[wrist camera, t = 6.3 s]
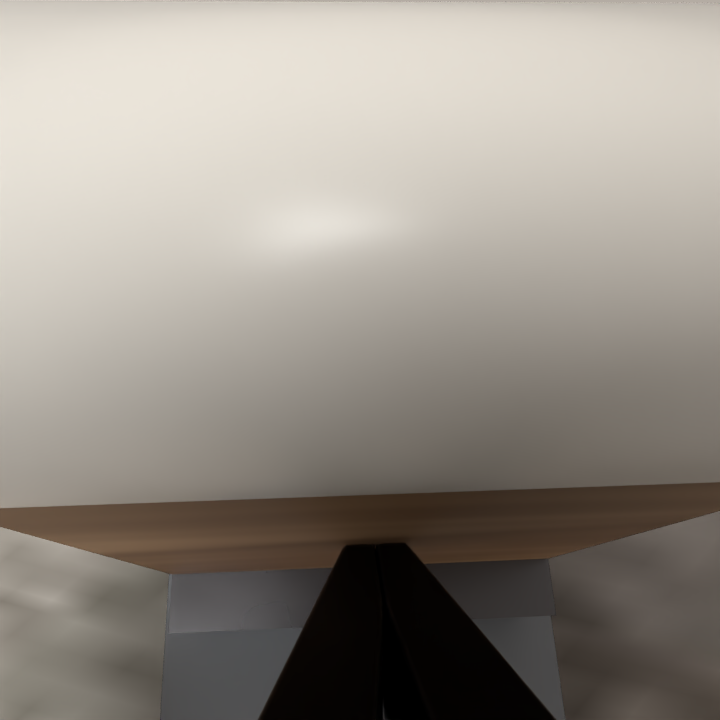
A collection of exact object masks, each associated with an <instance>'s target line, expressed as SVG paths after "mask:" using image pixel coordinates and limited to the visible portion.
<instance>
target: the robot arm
mask: <svg viewBox="0 0 720 720" xmlns="http://www.w3.org/2000/svg"><path fill="white" fill-rule="evenodd" d="M383 712H384V720H557V719H556V718H555V717H554V716H553V714H552V713H551V712H550V711H549V710H548V709H547V707H546V706H545V705H544V704H543V703H542V702H541V700H540V699H539V698H538V697H537V696H536V695H535V693H534V692H533V691H532V690H531V689H530V688H529V686H528V685H527V684H526V683H525V682H524V680H523V679H522V678H521V677H520V676H519V675H518V673H517V672H516V671H515V670H514V669H513V668H512V666H511V665H510V664H509V663H508V662H507V661H506V659H505V658H504V657H503V656H502V655H501V654H500V652H499V651H498V650H497V649H496V648H495V646H494V645H493V644H492V643H491V642H490V641H489V639H488V638H487V637H486V636H485V635H484V634H483V632H482V631H481V630H480V629H479V628H478V627H477V625H476V624H475V623H474V622H473V621H472V620H471V618H470V617H469V616H468V615H467V614H466V612H465V611H464V610H463V609H462V608H461V607H460V605H459V604H458V603H457V602H456V601H455V600H454V598H453V597H452V596H451V595H450V594H449V593H448V591H447V590H446V589H445V588H444V587H443V586H442V584H441V583H440V582H439V581H438V580H437V579H436V577H435V576H434V575H433V574H432V573H431V571H430V570H429V569H428V568H427V567H426V566H425V564H424V563H423V562H422V561H421V560H420V559H419V557H418V556H417V555H416V554H415V553H414V552H413V550H412V549H411V548H410V547H409V546H408V545H407V544H406V543H382V544H378V545H377V546H376V548H375V547H374V546H373V545H372V544H357V545H345V546H344V547H343V548H342V550H341V552H340V554H339V556H338V558H337V560H336V562H335V564H334V566H333V568H332V570H331V572H330V574H329V576H328V578H327V580H326V582H325V584H324V586H323V588H322V590H321V592H320V594H319V596H318V598H317V600H316V602H315V604H314V606H313V608H312V610H311V613H310V615H309V617H308V619H307V621H306V623H305V625H304V627H303V629H302V631H301V633H300V635H299V637H298V639H297V641H296V643H295V645H294V647H293V649H292V651H291V653H290V655H289V657H288V659H287V661H286V663H285V665H284V667H283V669H282V671H281V673H280V675H279V677H278V679H277V681H276V683H275V685H274V687H273V689H272V691H271V693H270V695H269V697H268V699H267V701H266V703H265V705H264V707H263V709H262V711H261V713H260V715H259V717H258V719H257V720H383Z"/></svg>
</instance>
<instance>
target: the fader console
mask: <svg viewBox="0 0 720 720" xmlns="http://www.w3.org/2000/svg"><path fill="white" fill-rule="evenodd" d="M171 582H172V574H169V583H168V600H167V616H166V632H165V648H164V664H163V680H162V696H161V713H160V720H257V719H258V717H259V715H260V713H261V711H262V709H263V707H264V705H265V703H266V701H267V699H268V697H269V695H270V693H271V691H272V689H273V687H274V685H275V683H276V681H277V679H278V677H279V675H280V673H281V671H282V669H283V667H284V665H285V663H286V661H287V659H288V657H289V655H290V653H291V651H292V649H293V647H294V645H295V643H296V641H297V639H298V637H299V635H300V633H301V631H302V629H303V627H299V628H278V629H257V630H235V631H214V632H193V633H172V634H168V632H169V615H170V599H171ZM471 620H472V621H473V622H474V623H475V624H476V625H477V627H478V628H479V629H480V630H481V631H482V632H483V634H484V635H485V636H486V637H487V638H488V639H489V641H490V642H491V643H492V644H493V645H494V646H495V648H496V649H497V650H498V651H499V652H500V654H501V655H502V656H503V657H504V658H505V659H506V661H507V662H508V663H509V664H510V665H511V666H512V668H513V669H514V670H515V671H516V672H517V673H518V675H519V676H520V677H521V678H522V679H523V680H524V682H525V683H526V684H527V685H528V686H529V688H530V689H531V690H532V691H533V692H534V693H535V695H536V696H537V697H538V698H539V699H540V700H541V702H542V703H543V704H544V705H545V706H546V707H547V709H548V710H549V711H550V712H551V713H552V714H553V716H554V717H555V718H556V719H557V720H565V713H564V706H563V698H562V691H561V684H560V677H559V670H558V663H557V656H556V649H555V642H554V634H553V627H552V620H551V616H534V617H512V618H491V619H471ZM383 720H384V712H383Z"/></svg>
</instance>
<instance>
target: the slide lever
mask: <svg viewBox="0 0 720 720" xmlns="http://www.w3.org/2000/svg"><path fill="white" fill-rule="evenodd" d="M717 511H720V3H582V2H577V3H576V2H573V3H572V2H569V3H567V2H355V1H354V2H352V1H351V2H349V1H346V2H345V1H344V2H343V1H342V2H341V1H329V2H328V1H132V0H128V1H125V0H124V1H123V0H0V527H3V528H7V529H10V530H14V531H17V532H21V533H25V534H28V535H32V536H35V537H39V538H43V539H46V540H50V541H53V542H57V543H61V544H64V545H68V546H71V547H75V548H79V549H82V550H86V551H89V552H93V553H97V554H100V555H104V556H107V557H111V558H115V559H118V560H122V561H125V562H129V563H133V564H136V565H140V566H143V567H147V568H151V569H154V570H158V571H161V572H165V573H169V574H172V582H171V599H170V615H169V632H168V634H172V633H193V632H214V631H235V630H257V629H278V628H299V627H304V625H305V623H306V621H307V619H308V617H309V615H310V613H311V610H312V608H313V606H314V604H315V602H316V600H317V598H318V596H319V594H320V592H321V590H322V588H323V586H324V584H325V582H326V580H327V578H328V576H329V574H330V572H331V570H332V568H333V566H334V564H335V562H336V560H337V558H338V556H339V554H340V552H341V550H342V548H343V547H344V546H345V545H357V544H372V545H373V546H374V547H375V548H376V546H377V545H378V544H382V543H406V544H407V545H408V546H409V547H410V548H411V549H412V550H413V552H414V553H415V554H416V555H417V556H418V557H419V559H420V560H421V561H422V562H423V563H424V564H425V566H426V567H427V568H428V569H429V570H430V571H431V573H432V574H433V575H434V576H435V577H436V579H437V580H438V581H439V582H440V583H441V584H442V586H443V587H444V588H445V589H446V590H447V591H448V593H449V594H450V595H451V596H452V597H453V598H454V600H455V601H456V602H457V603H458V604H459V605H460V607H461V608H462V609H463V610H464V611H465V612H466V614H467V615H468V616H469V617H470V618H471V619H491V618H512V617H534V616H555V615H556V611H555V604H554V597H553V590H552V583H551V576H550V569H549V562H548V558H552V557H555V556H559V555H563V554H566V553H570V552H573V551H577V550H581V549H584V548H588V547H591V546H595V545H599V544H602V543H606V542H609V541H613V540H617V539H620V538H624V537H627V536H631V535H634V534H638V533H642V532H645V531H649V530H652V529H656V528H660V527H663V526H667V525H670V524H674V523H678V522H681V521H685V520H688V519H692V518H696V517H699V516H703V515H706V514H710V513H714V512H717Z"/></svg>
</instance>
